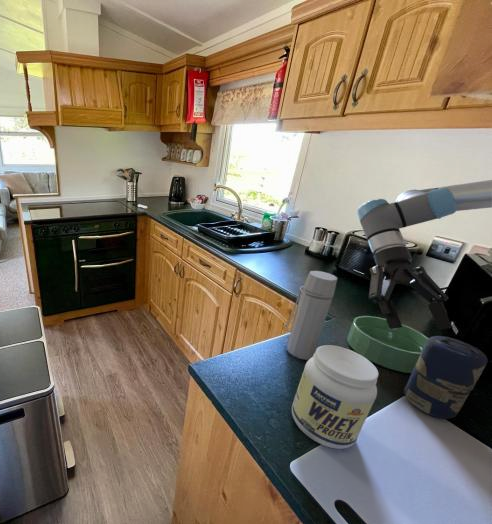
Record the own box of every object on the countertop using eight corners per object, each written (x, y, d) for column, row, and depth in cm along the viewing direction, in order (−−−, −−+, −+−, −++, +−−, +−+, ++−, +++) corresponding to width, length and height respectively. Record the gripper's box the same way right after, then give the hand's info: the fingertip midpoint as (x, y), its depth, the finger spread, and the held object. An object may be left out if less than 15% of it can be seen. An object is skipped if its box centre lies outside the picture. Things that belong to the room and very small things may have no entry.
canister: (442, 427, 63) (481, 361, 57) (392, 395, 71) (422, 334, 65) (462, 415, 67) (501, 351, 61) (413, 386, 75) (443, 327, 69)
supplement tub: (291, 436, 59) (314, 370, 53) (288, 394, 69) (307, 335, 63) (362, 463, 54) (395, 394, 48) (348, 414, 65) (374, 352, 59)
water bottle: (318, 356, 84) (345, 278, 76) (304, 365, 80) (330, 283, 71) (289, 339, 91) (310, 266, 83) (274, 346, 87) (295, 270, 78)
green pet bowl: (423, 352, 89) (433, 333, 87) (427, 385, 76) (439, 364, 73) (350, 327, 101) (357, 309, 98) (342, 351, 87) (349, 332, 85)
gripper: (416, 258, 84) (449, 331, 75) (338, 255, 82) (362, 330, 73) (443, 246, 77) (483, 325, 69) (358, 243, 75) (388, 324, 66)
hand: (421, 328), depth 71 cm, fingers open, 13 cm apart
